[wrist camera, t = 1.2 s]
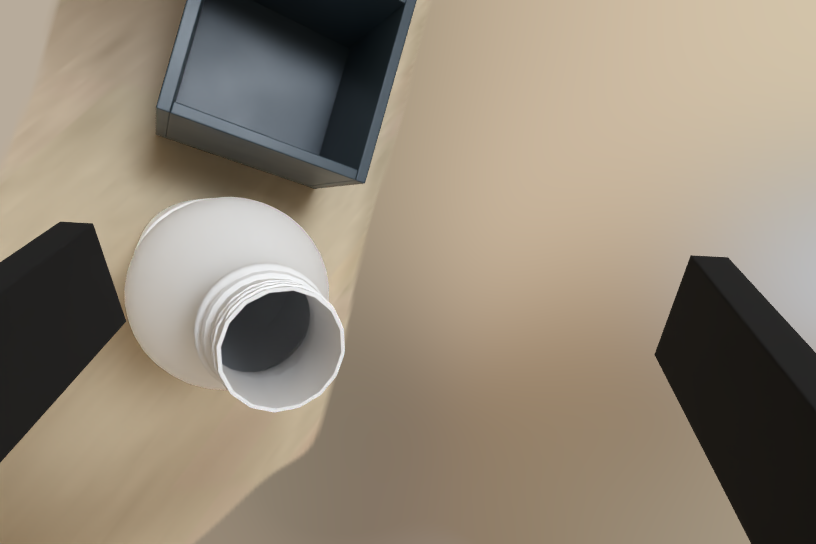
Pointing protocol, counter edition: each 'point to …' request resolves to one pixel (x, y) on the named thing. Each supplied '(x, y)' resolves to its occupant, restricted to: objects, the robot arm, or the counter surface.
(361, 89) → the tub
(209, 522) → the counter surface
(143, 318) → the water bottle
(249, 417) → the counter surface
